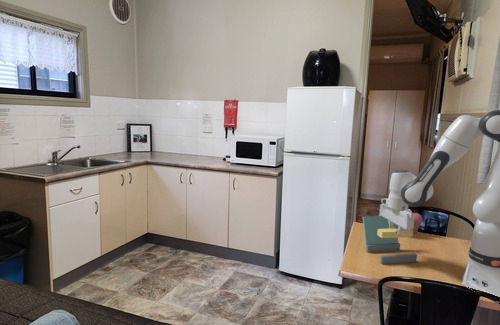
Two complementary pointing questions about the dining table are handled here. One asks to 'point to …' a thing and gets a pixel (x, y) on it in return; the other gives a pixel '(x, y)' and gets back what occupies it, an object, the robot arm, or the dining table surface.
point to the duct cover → (372, 227)
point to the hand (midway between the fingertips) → (395, 231)
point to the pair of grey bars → (391, 258)
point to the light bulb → (417, 222)
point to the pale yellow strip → (394, 233)
